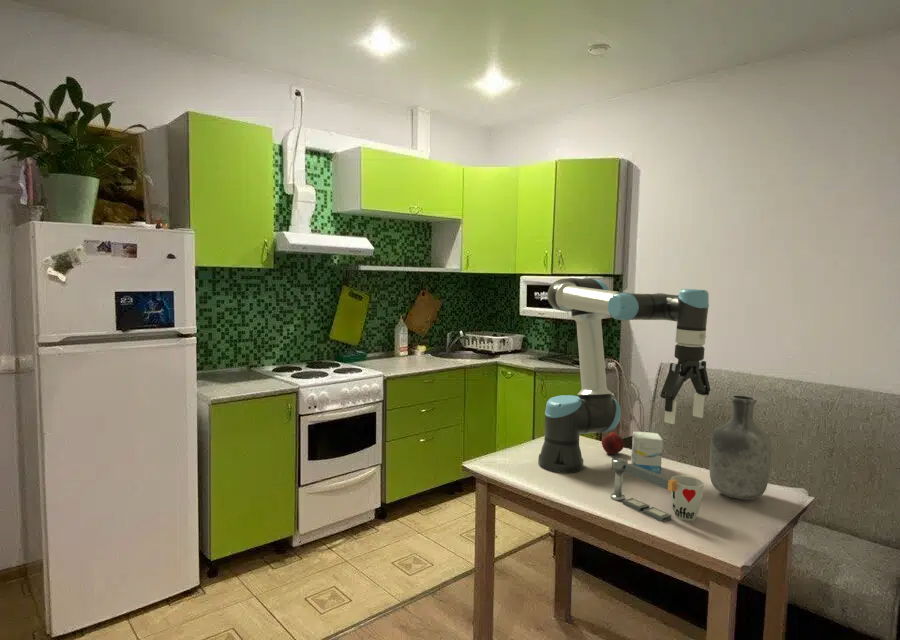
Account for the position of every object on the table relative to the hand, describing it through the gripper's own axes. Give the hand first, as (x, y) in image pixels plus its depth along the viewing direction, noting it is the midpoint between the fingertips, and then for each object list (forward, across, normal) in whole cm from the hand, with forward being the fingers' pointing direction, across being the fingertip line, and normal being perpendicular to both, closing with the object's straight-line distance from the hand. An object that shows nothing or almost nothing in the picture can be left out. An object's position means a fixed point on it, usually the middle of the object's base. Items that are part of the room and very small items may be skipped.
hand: (683, 419), depth 154 cm
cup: (+25, -5, -6) cm, 26 cm away
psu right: (+25, -11, -1) cm, 27 cm away
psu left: (+25, -11, +6) cm, 28 cm away
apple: (+26, +21, +40) cm, 52 cm away
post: (+25, -11, +12) cm, 30 cm away
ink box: (+26, +19, +24) cm, 40 cm away
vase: (+25, +23, -5) cm, 34 cm away
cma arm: (+16, -11, +4) cm, 20 cm away
